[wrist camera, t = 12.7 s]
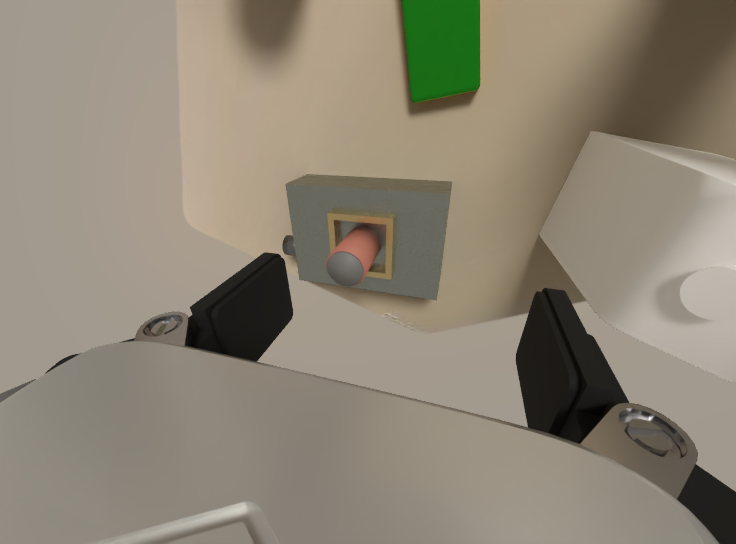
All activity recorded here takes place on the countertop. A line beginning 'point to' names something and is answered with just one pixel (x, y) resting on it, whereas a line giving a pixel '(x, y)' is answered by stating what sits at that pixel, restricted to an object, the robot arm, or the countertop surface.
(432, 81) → the dish sponge
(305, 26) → the countertop surface
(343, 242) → the oil can
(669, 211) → the milk
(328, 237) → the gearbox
